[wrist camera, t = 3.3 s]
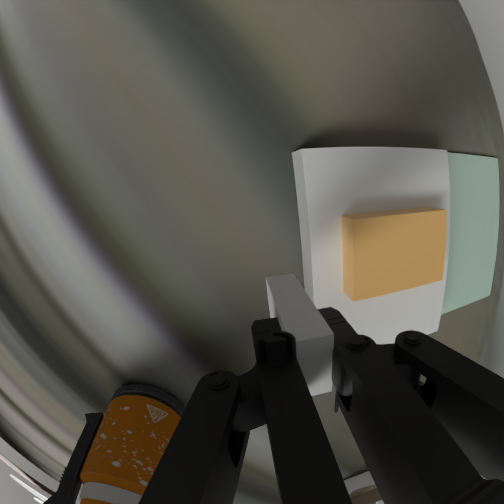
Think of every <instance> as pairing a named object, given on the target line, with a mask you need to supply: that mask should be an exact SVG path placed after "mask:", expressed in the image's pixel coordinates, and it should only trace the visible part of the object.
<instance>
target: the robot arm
mask: <svg viewBox="0 0 504 504" xmlns="http://www.w3.org/2000/svg"><path fill="white" fill-rule="evenodd" d="M266 284H267V293H268V302H269V311H270V318H268V319H262V320H255V321H254V323H253V325H252V326H251V328H252V335H253V342H254V349H255V355H256V364H255V366H254V367H253V369H252V370H250V371H249V372H247V373H245V374H243V375H240V376H236V375H235V374H234V373H232V372H229V371H214V372H211V373H208V374H207V375H205V376H203V377H202V378H201V379H200V381H199V382H198V384H197V386H196V388H195V390H194V392H193V394H192V396H191V398H190V400H189V403H188V405H187V407H186V409H185V411H184V413H183V415H182V417H181V419H180V421H179V423H178V425H177V427H176V429H175V431H174V433H173V435H172V437H171V439H170V441H169V443H168V445H167V447H166V449H165V451H164V453H163V455H162V457H161V459H160V461H159V463H158V465H157V467H156V469H155V471H154V473H153V475H152V477H151V479H150V481H149V483H148V485H147V487H146V489H145V491H144V493H143V495H142V497H141V499H140V501H139V503H138V504H233V500H234V496H235V492H236V488H237V484H238V480H239V476H240V472H241V468H242V464H243V460H244V456H245V452H246V447H247V443H248V439H249V434H250V430H252V429H255V428H257V427H260V426H262V425H265V424H267V428H268V434H269V439H270V445H271V450H272V456H273V462H274V467H275V473H276V478H277V483H278V489H279V494H280V499H281V504H352V501H351V499H350V496H349V493H348V491H347V488H346V485H345V483H344V480H343V478H342V475H341V472H340V470H339V467H338V464H337V462H336V459H335V457H334V454H333V451H332V449H331V446H330V443H329V441H328V438H327V436H326V433H325V430H324V428H323V425H322V423H321V420H320V417H319V415H318V412H317V409H316V407H315V404H314V402H313V399H312V396H313V395H318V394H322V393H326V392H330V391H332V381H333V383H334V385H335V387H336V397H335V408H334V409H335V413H336V412H338V406H339V407H340V409H341V411H342V413H343V415H344V417H345V420H346V422H347V424H348V426H349V428H350V430H351V432H352V435H353V437H354V439H355V441H356V443H357V445H358V447H359V450H360V452H361V454H362V456H363V458H364V460H365V463H366V465H367V467H368V469H369V471H370V474H371V476H372V478H373V480H374V482H375V485H376V487H377V489H378V491H379V493H380V496H381V498H382V500H383V502H384V504H504V378H502V377H500V376H499V375H497V374H495V373H493V372H492V371H490V370H488V369H486V368H485V367H483V366H481V365H479V364H478V363H476V362H474V361H472V360H470V359H469V358H467V357H465V356H463V355H462V354H460V353H458V352H456V351H454V350H453V349H451V348H449V347H447V346H446V345H444V344H442V343H440V342H438V341H437V340H435V339H433V338H431V337H429V336H428V335H426V334H424V333H422V332H419V331H414V330H408V331H404V332H401V333H399V334H398V335H397V336H396V339H395V343H393V344H376V343H375V341H374V340H373V339H371V338H370V337H368V336H365V335H360V334H357V332H356V331H355V330H354V329H353V328H352V326H351V325H350V324H349V323H348V322H347V320H346V319H345V318H344V317H343V315H342V314H341V313H340V312H339V311H338V310H336V309H334V308H332V307H327V308H321V309H317V308H316V306H315V305H314V303H313V302H312V300H311V299H310V298H309V296H308V295H307V293H306V292H305V290H304V289H303V287H302V286H301V284H300V283H299V281H298V280H297V279H296V277H295V276H294V274H293V273H291V274H284V275H278V276H271V277H266ZM421 374H422V375H423V376H425V377H426V378H427V379H426V382H425V383H423V382H421V381H419V380H420V377H421ZM480 475H482V476H483V477H484V478H486V479H487V480H486V479H483V478H482V477H481V476H480Z"/></svg>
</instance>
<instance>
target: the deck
mask: <svg viewBox="0 0 504 504" xmlns="http://www.w3.org/2000/svg"><path fill="white" fill-rule="evenodd" d="M292 157H293V166H294V174H295V183H296V192H297V202H298V212H299V223H300V235H301V247H302V260H303V275H304V290H305V292H306V293H307V295H308V296H309V298H310V299H311V300H312V302H313V303H314V305H315V306H316V308H317V309H321V308H327V307H332V308H334V309H336V310H338V311H339V312H340V313H341V314H342V315H343V317H344V318H345V319H346V320H347V322H348V323H349V324H350V325H351V326H352V328H353V329H354V330H355V331H356V332H357V334H360V335H365V336H368V337H370V338H371V339H373V340H374V341H375V343H376V344H393V343H395V339H396V336H397V335H398V334H399V333H401V332H404V331H408V330H414V331H419V332H422V333H424V334H426V335H428V334H430V333H433V332H436V331H438V327H439V322H440V316H441V311H442V305H443V299H444V292H445V285H446V277H447V267H448V256H449V241H450V180H449V165H448V154H447V150H439V149H425V148H406V147H329V148H309V149H300V150H298V151H295V152H293V153H292ZM423 207H436V208H440V209H445V210H446V246H445V260H444V271H443V280H440V281H437V282H433V283H430V284H426V285H422V286H418V287H414V288H410V289H406V290H402V291H398V292H394V293H390V294H386V295H381V296H377V297H373V298H368V299H364V300H359V301H354V302H353V301H352V300H351V299H350V298H349V297H348V296H347V295H346V294H345V293H344V292H343V246H342V225H341V216H342V215H352V214H361V213H370V212H380V211H390V210H401V209H412V208H423Z"/></svg>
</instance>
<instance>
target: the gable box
mask: <svg viewBox="0 0 504 504" xmlns="http://www.w3.org/2000/svg"><path fill="white" fill-rule="evenodd" d="M344 483H345V485H346V488H347V491H348V493H349V496H350V499H351V501H352V504H371V503H375V502H378V501H380V500H382V498H381V496H380V493H379V491H378V489H377V487H376V485H375V482H374V480H373V478H372V476H371V474H370V471H367V472H364V473H362V474H359V475H357V476H354V477H351V478H349V479H346V480H344Z"/></svg>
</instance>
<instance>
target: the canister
mask: <svg viewBox="0 0 504 504" xmlns="http://www.w3.org/2000/svg"><path fill="white" fill-rule="evenodd" d="M184 411H185V409H184V408H183V406H182V405H181V404H180V403H179V402H178V401H177V400H176V399H175V398H173V397H172V396H170V395H169V394H167V393H165V392H163V391H161V390H159V389H156V388H153V387H150V386H145V385H126V386H123V387H121V388H119V389H118V390H117V391H116V392H115V393H114V395H113V397H112V399H111V402H110V404H109V406H108V408H107V410H106V413H105V415H104V417H103V412H101V413H90V414H85V416H86V420H87V423H86V425H85V427H84V429H83V431H82V434H81V436H80V438H79V440H78V442H77V444H76V447H75V449H74V451H73V453H72V456H71V458H70V460H69V463H68V465H67V467H65V471H63V473H64V474H62V476H63V477H61V480H60V481H59V482H60V485H59V488H58V490H57V492H55V493H54V494H53V495H52V496H51V497H50V498H49V499H48V500H46V501H45V502H44V503H43V504H75V502H76V499H77V496H78V493H79V490H80V487H81V484H82V483H83V487H82V491H81V494H80V497H79V501H80V504H138V503H139V501H140V499H141V497H142V495H143V493H144V491H145V489H146V487H147V485H148V483H149V481H150V479H151V477H152V475H153V473H154V471H155V469H156V467H157V465H158V463H159V461H160V459H161V457H162V455H163V453H164V451H165V449H166V447H167V445H168V443H169V441H170V439H171V437H172V435H173V433H174V431H175V429H176V427H177V425H178V423H179V421H180V419H181V417H182V415H183V413H184Z"/></svg>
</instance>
